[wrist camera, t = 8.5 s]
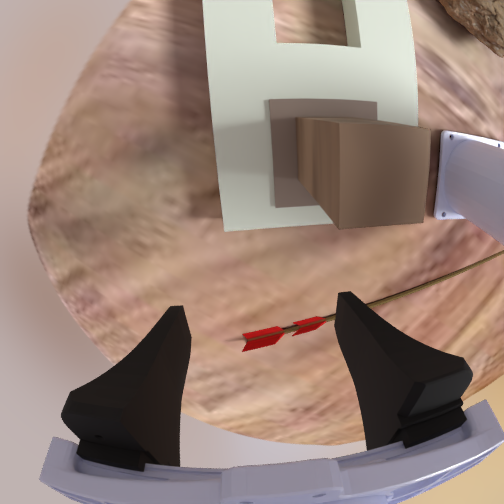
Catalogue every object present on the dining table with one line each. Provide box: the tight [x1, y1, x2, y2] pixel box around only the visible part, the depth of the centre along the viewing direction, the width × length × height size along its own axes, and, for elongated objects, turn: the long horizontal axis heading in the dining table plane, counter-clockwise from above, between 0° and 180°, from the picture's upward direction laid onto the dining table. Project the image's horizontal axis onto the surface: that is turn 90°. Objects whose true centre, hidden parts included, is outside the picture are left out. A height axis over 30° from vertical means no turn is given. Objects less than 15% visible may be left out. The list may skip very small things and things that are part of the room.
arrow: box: [242, 250, 504, 352], centre depth 26 cm, size 2×35×2 cm
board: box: [203, 0, 418, 232], centre depth 16 cm, size 14×20×3 cm
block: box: [295, 117, 431, 229], centre depth 13 cm, size 4×4×8 cm
